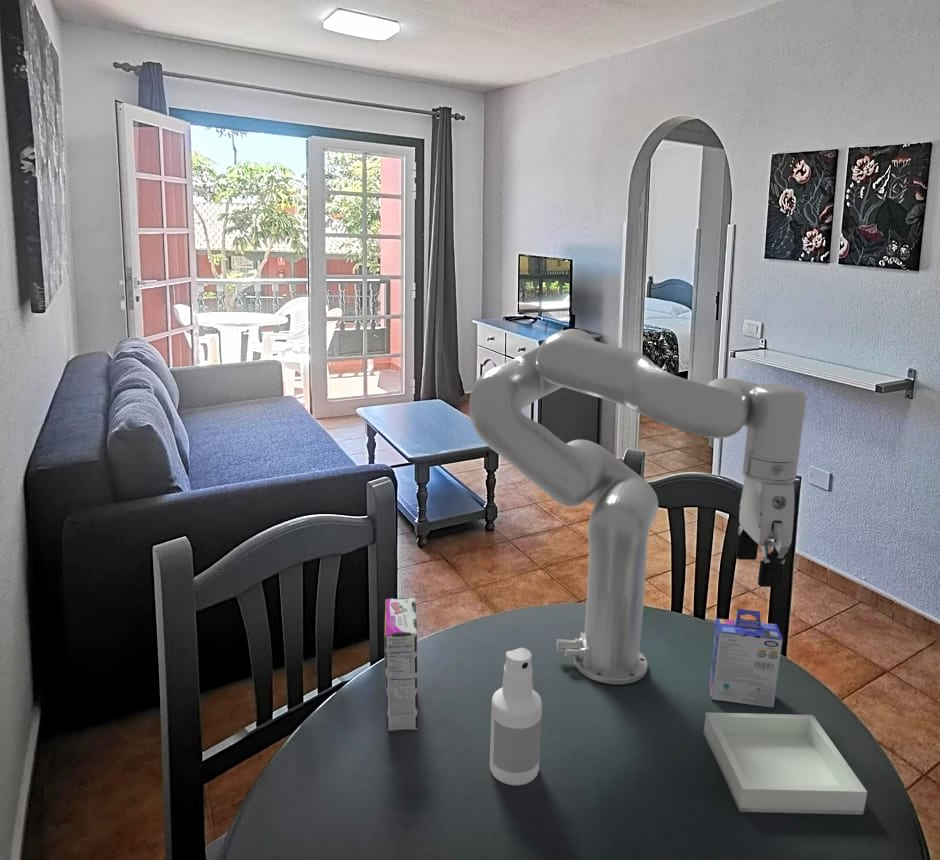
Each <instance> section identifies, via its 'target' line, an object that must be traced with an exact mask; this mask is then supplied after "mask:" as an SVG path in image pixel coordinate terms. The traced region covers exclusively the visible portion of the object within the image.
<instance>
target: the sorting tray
mask: <svg viewBox="0 0 940 860" xmlns="http://www.w3.org/2000/svg"><path fill="white" fill-rule="evenodd" d="M703 735H704V737H705V739H706V741H707V743H708V746H709V748H710V750H711V751H712V754H713V756H714V758H715V761H716V763H717V766H718V767H719V770H720V771H721V774H722V776H723V778H724V780H725V782H726V784H727V787H728V790H729V791H730V794H731V795H732V798H733V800H734V802H735V805H736V807H737V809H738V810H739V812H740V813H772V814H773V813H774V814H775V813H778V814H779V813H782V814H783V813H784V814H814V815H816V814H821V815H822V814H825V815H859V816H860V815H861V816H862V815H864V812H865V808H866V802H867V796H868V791H867V790H866V788H865V786H864V785H863V784H862V782H861V780H860V779H859V778H858V776H857V775H856V773H855V772H854V771H853V769H852V768H851V766H849V763H848V762H847V761H846V759H845V758H844V757H843V755H842V754H841V752H840V751H839V749H838V748H837V747H836V746H835V744H834V743H833V741H832V740H831V739H830V737H829V736H828V734H827V733H826V731H825V730H824V728H823V727H822V726H821V725H820V722H819V721H818V719H816V717H815V716H814V715H813V714H790V713H788V714H787V713H785V714H784V713H783V714H782V713H749V712H747V713H743V712H708V711H707V712H705V718H704V726H703Z"/></svg>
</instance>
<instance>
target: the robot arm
mask: <svg viewBox="0 0 940 860" xmlns="http://www.w3.org/2000/svg"><path fill="white" fill-rule="evenodd" d="M562 388H566V389H568V390H573V391H575V392H578V393H582V394H585V395H589V396H593V397H596V398H600V399H602V400H606V401H609V402H613V403H615V404H619V405H621V406H625V407H627V408H629V409H630V410H632V411H633V412H636V413H638V414H640V415H642V416H644V417H646V418H649V419H651V420H653V421H655V422H658V423H660V424H662V425H665V426H667V427H671V428H673V429H676V430H680V431H684V432H687V433H691V434H694V435H697V436H700V437H704V438H710V439H726V438H729V437H732V436H733V435H734V436H735V435H736V434H737V433H738V432H740V431H741V430H742V428H743V427H744V426H745V427H746V428H747V429H746V431H747V432H746V437H745V438H746V439H745V446H744V447H745V449H744V458H743V465H742V466H743V467H742V476H744V481H743V486H742V490H741V491H742V492H741V497H740V503H739V514H738V515H739V516H738V521H739V522H738V523H739V524H740V525H739V526H738V528H737V533H738V535H737V544H736V550H735V558H736V559H737V560H743V561H744V560H745V561H748V560H749V561H753V560H757V558H758V551H759V550H758V549H759V546H760V547H761V552H762V553H761V554H762V560H760V561H759V569H758V576H757V577H758V578H757V579H758V580H757V585H758V586H759V587H761V588H762V587H764V588H766V587H767V588H771V587H772V588H779V587H780V586H781V583H782V574H783V569H784V567H783V566H784V564H785V562H786V558H787V556H788V554H787V553H788V551H789V549H790V546H791V544H792V539H793V533H794V532H793V530H794V520H795V519H794V518H795V517H794V516H795V484H794V482H796V478H797V474H798V473H797V471H798V463H799V456H800V448H801V440H802V432H803V426H804V419H805V410H806V406H807V405H806V402H807V398H806V397H807V396H806V394H805V392H804V391H803V390H802V389H800V388H798V387H796V386H793V385H792V386H791V385H785V384H768V383H767V384H759V383H753V382H748V381H744V380H740V379H736V378H730V377H720V378H716V379H712V381H709V382H708V383H707V384H705V383H701V382H697V381H694V380H691V379H686V378H683V377H681V376H677V375H675V374H672V373H671V372H669V371H666V370H664V369H662V368H661V367H659V366H657V364H655V363H654V362H653V361H652V360H651V359H650V358H649V357H647V356H646V355H643V354H642V353H640V352H636V351H634V350H629V349H625V348H621V347H618V346H614V345H610V344H607V343H603V342H601V341H600V342H599V341H596V340H595V338H594V337H593V336H592V335H591V334H589V333H588V332H586V331H584V330H581V329H577V328H569V329H565V330H562V331H559V332H556V333H553V334H552V335H550V336H548V337H547V338H545V340H544V341H543V342H542V343H541V344H539V345H538V346H536V347H534V348H533V349H532V348H531V350H529V351H527V352H525V353H523V354H521V355H520V356H517V357H515V358H513V359H511V360H509V361H507V362H504V363H502V364H500V365H496V366H495V367H492V368H490V369H488V370H487V371H485V372H483V373H482V374H481V375H480V376H479V377H478V378H477V380H476V381H475V382H474V385H473V386H472V389H471V391H470V393H469V394H470V395H469V401H468V410H469V411H468V412H469V418H470V421H471V424H472V426H473V429H474V430H475V432H476V434H477V435H478V436H479V438H480V440H482V441H483V443H485V445H486V446H487V447H488V448H489V449H491V450H492V451H494V452H495V453H496V454H498V455H499V456H500V457H501V458H503V459H504V460H505V461H507V462H508V463H509V464H510V465H512V466H513V467H515V468H516V470H517V471H519V473H521V474H522V475H523V476H525V477H526V478H527V479H528V480H529V481H531V482H532V483H533V484H535V486H537V487H538V488H539V489H541V490H542V492H544V493H545V494H547V496H549V497H550V498H551V499H552V500H554V501H555V502H557V503H558V504H560V505H562V506H565V507H569V508H570V507H571V508H574V507H578V506H581V505H583V504H585V502H587V501H589V502H591V503H592V505H594V507H593V508H592V510H591V513H590V515H589V516H590V517H589V520H588V525H587V527H588V528H587V530H588V531H587V542H588V565H587V584H586V585H587V587H586V588H587V589H586V603H585V617H584V618H585V619H584V632H579V633H580V634H579V638H577V637H575V638H574V639H562V638H561V639H560V638H559V639H556V651H559V652H564V656H565V658H573V663H574V666H575V667H576V669H577V671H579V672H580V673H581V674H582V675H583V676H585V677H587V678H589V679H591V680H593V681H596V682H599V683H603V684H608V685H619V686H620V685H629V684H632V683H635V682H638V681H639V680H641V679H643V678H644V677H645V675H646V674H647V671H648V660H647V659H646V656H644V654H643V653H642V652H641V651H640V648H641V646H640V645H641V636H642V635H641V634H642V626H643V625H642V624H643V613H644V612H643V611H644V601H645V591H646V590H645V588H646V577H647V553H648V538H649V533H650V531H651V528H652V526H653V523H654V521H655V518H656V517H657V514H658V509H659V501H658V500H659V499H658V496H657V494H656V491H655V490H654V489H653V487H652V486H651V485H650V483H648V482H647V481H646V479H645V478H643V477H641V475H639V473H637V472H635V471H634V470H633V469H631V467H629V466H628V465H627V464H625V463H624V462H623V461H621V459H619V458H617V456H615V455H613V453H611V452H610V451H608V450H607V448H604V447H603V446H602V445H600V444H598V443H597V442H596V443H595V442H594V441H591V440H588V439H573V440H571V441H569V442H567V443H566V442H564V440H561V439H560V438H559V437H557V436H556V435H554V434H553V433H552V432H551V431H550V430H549V429H548V428H546V426H544V425H542V424H541V423H538V422H536V421H535V420H533V419H531V418H529V417H527V415H525V414H524V413H523V410H522V409H525V408H526V407H527V406H528V407H529V405H530V404H533V403H534V402H536V401H538V400H540V399H542V398H543V397H545V396H548V395H550V394H552V393H554V392H555V391H558V390H559V389H562ZM768 540H769V541H768ZM771 540H772V541H771ZM773 540H774V541H773ZM769 548H775V549H772V551H771V552H770V551H769Z"/></svg>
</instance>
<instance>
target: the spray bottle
mask: <svg viewBox="0 0 940 860" xmlns="http://www.w3.org/2000/svg"><path fill="white" fill-rule="evenodd" d="M533 673H534V672H533V665H532V652H531V651H530V649H529V650H528V649H527V648H525V647H519V648H516V649H512V650H508V651H506V653H505V663H504V666H503V679H502V687H500V688H499V689H498V690H495V692H494V693H493V695H492V697H491V718H490V719H491V720H490V746H489V747H490V748H489V750H490V752H489V770H490V772H491V774H492V776H493V777H494V778H495V779H496V780H497V781H499V782H500V783H503V784H505V785H508V786H509V785H510V786H522V785H528V784H529V783H531V782H533V781H534V779H536V777H537V776H538V774H539V770H540V753H541V737H542V736H541V735H542V733H541V731H542V715H543V713H542V712H543V702H542V698H541V696H540V694H539V693H538V692H537V691H536V690H534V689H533V688H534V684H533Z"/></svg>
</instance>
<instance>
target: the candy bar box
mask: <svg viewBox="0 0 940 860" xmlns="http://www.w3.org/2000/svg"><path fill="white" fill-rule="evenodd" d="M384 606H385V607H384V675H385V679H384V681H385V682H384V683H385V714H386V718H385V719H386V730H387V731H388V732H403V731H417V730H418V729H419V681H418V680H419V676H418V671H419V670H418V669H419V668H418V667H419V663H418V624H417V623H418V621H417V606H416V598H415V597H410V598H409V597H408V598H407V597H404V598H403V597H401V598H400V597H397V598H394V597H393V598H387V599H385V601H384Z"/></svg>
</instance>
